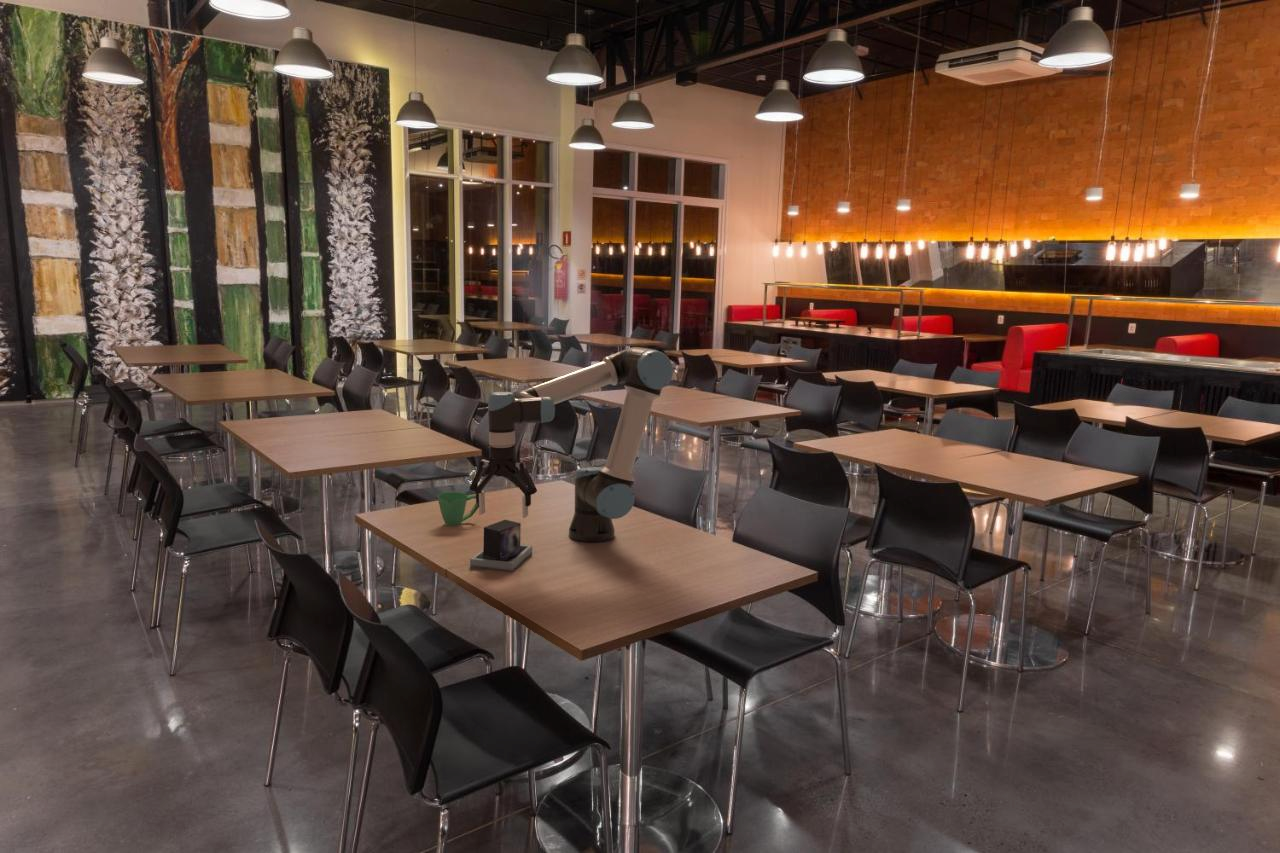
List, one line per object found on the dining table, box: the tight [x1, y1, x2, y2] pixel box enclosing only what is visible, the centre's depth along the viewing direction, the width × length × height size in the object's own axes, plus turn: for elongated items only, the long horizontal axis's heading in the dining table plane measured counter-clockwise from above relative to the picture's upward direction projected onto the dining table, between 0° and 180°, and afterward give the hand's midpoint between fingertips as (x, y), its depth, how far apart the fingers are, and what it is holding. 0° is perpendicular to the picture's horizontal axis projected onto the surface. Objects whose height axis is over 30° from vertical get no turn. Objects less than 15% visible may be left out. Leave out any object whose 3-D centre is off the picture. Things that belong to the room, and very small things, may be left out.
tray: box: [469, 544, 533, 573], centre depth 253 cm, size 13×17×2 cm
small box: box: [482, 519, 522, 561], centre depth 252 cm, size 11×6×10 cm, turn 151°
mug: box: [437, 491, 479, 527], centre depth 288 cm, size 15×10×10 cm
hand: (503, 515), depth 251 cm, fingers open, 13 cm apart
